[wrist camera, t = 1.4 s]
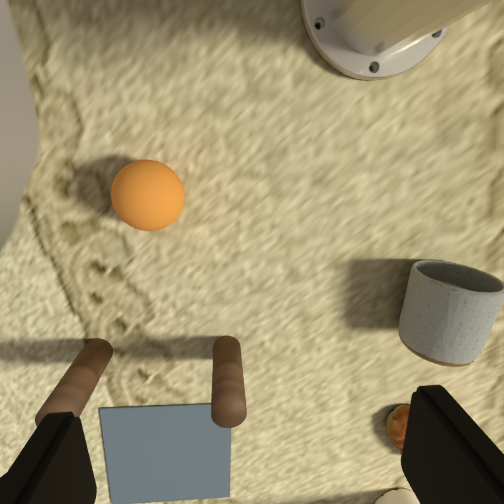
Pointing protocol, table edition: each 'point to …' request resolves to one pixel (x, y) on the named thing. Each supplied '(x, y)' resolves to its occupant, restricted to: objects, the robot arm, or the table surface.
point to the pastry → (398, 425)
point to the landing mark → (165, 453)
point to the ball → (147, 195)
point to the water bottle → (398, 497)
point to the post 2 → (227, 384)
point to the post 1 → (78, 380)
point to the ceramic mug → (449, 311)
